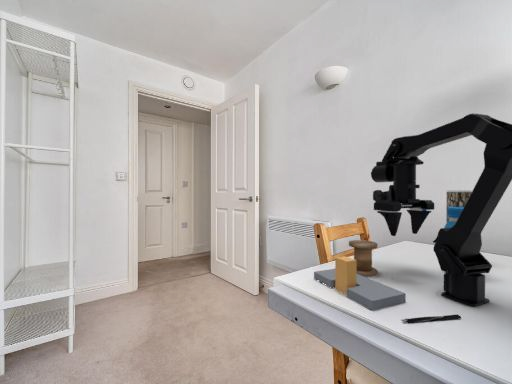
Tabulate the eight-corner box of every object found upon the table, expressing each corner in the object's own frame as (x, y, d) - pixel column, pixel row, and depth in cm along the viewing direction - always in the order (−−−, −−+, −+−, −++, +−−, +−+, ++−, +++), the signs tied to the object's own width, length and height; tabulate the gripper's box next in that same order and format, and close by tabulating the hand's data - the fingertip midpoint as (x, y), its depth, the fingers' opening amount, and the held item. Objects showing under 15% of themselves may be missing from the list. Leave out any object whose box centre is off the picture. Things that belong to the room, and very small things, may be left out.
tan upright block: (356, 293, 60) (356, 260, 60) (346, 295, 59) (346, 261, 58) (344, 287, 63) (344, 256, 63) (335, 288, 62) (335, 257, 62)
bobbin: (383, 274, 73) (383, 244, 73) (363, 278, 70) (363, 246, 70) (362, 266, 80) (362, 239, 80) (343, 269, 77) (343, 241, 77)
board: (405, 302, 55) (405, 293, 55) (372, 310, 51) (372, 301, 51) (341, 274, 73) (341, 267, 73) (314, 278, 69) (314, 271, 69)
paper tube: (461, 259, 88) (462, 190, 88) (477, 265, 82) (477, 190, 82) (441, 259, 89) (442, 190, 89) (455, 265, 82) (455, 190, 82)
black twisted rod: (404, 325, 46) (404, 320, 46) (400, 323, 47) (400, 317, 47) (461, 321, 47) (461, 315, 47) (456, 318, 48) (456, 313, 48)
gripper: (400, 182, 83) (400, 228, 83) (358, 181, 75) (358, 232, 75) (435, 181, 73) (435, 234, 73) (391, 180, 65) (391, 239, 65)
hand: (404, 234), depth 72 cm, fingers open, 9 cm apart
